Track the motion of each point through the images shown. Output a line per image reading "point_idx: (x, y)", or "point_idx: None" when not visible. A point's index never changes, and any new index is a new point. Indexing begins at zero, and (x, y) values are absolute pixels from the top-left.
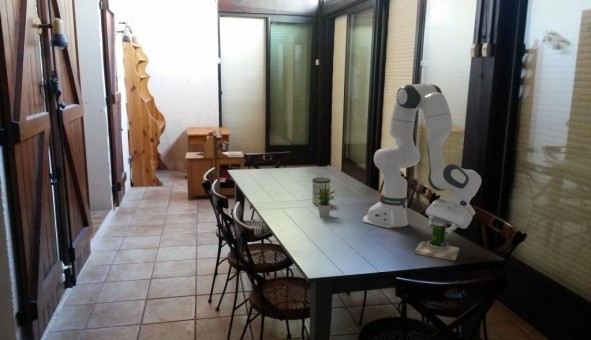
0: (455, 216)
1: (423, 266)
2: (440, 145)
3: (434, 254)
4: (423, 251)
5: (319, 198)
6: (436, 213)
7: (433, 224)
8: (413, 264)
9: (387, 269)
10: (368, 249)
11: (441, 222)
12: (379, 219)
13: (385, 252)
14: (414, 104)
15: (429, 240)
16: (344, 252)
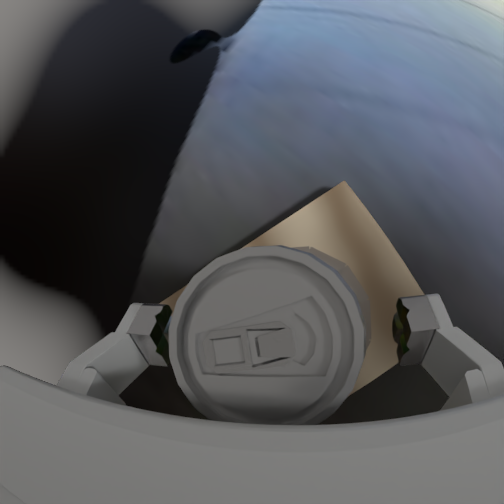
0: (34, 462)
1: (199, 126)
2: None
3: (248, 245)
4: (305, 207)
5: None
6: (452, 455)
7: (310, 253)
8: (237, 103)
9: (253, 24)
10: (445, 65)
11: (239, 356)
12: None
13: (402, 88)
14: None
15: (368, 311)
16: (428, 12)
